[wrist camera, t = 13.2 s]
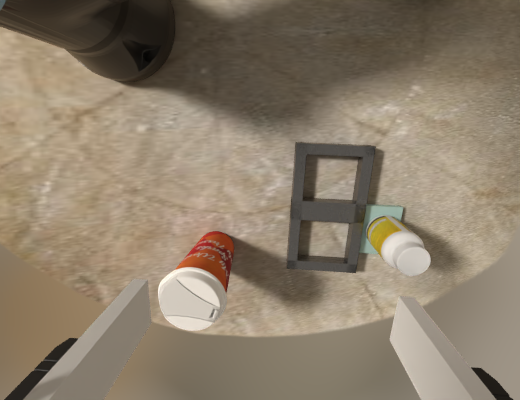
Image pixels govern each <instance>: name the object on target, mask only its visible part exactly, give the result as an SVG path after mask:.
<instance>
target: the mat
mask: <svg viewBox="0 0 520 400" xmlns="http://www.w3.org/2000/svg"><path fill="white" fill-rule="evenodd" d="M402 212H403V207H402V206H392V205H373V204H366V211H365V217H364V223H363V230H362V236H361V242H360V249H359V253H371V254H378V252H377V251H376V250H375V249H374V247H373V246H372V245H371V244H370V242H369V241H368V239H367V236H366V228H367V226H368V224H369V222H370V221H371V220H372V219H374V218H375V217H378V216H381V215H390V216H393V217H394V218H396V219H397V220H399V221H400V222H401V217H402Z"/></svg>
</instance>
